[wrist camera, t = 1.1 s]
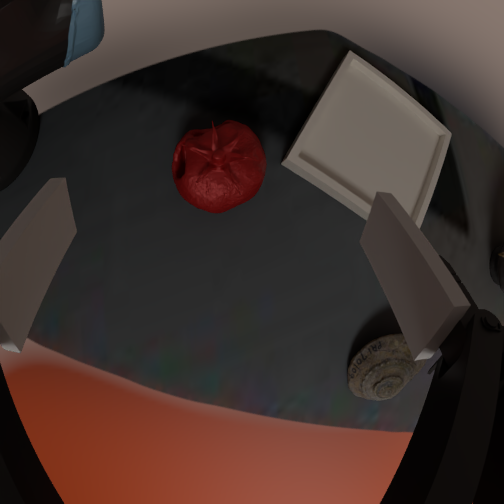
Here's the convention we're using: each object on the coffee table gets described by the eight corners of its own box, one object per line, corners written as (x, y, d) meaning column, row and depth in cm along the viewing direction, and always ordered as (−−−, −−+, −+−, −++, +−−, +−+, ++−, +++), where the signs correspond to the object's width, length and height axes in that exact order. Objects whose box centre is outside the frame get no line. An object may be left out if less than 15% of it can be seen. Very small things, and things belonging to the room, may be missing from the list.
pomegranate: (275, 170, 38) (299, 149, 29) (219, 233, 37) (227, 229, 28) (213, 117, 36) (220, 81, 27) (155, 177, 35) (144, 155, 26)
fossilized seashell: (347, 339, 38) (390, 359, 32) (394, 312, 43) (434, 325, 38) (343, 402, 41) (380, 424, 35) (388, 371, 46) (422, 387, 40)
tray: (280, 163, 38) (286, 158, 35) (342, 58, 39) (349, 50, 37) (401, 246, 41) (412, 246, 39) (441, 137, 43) (451, 133, 40)
